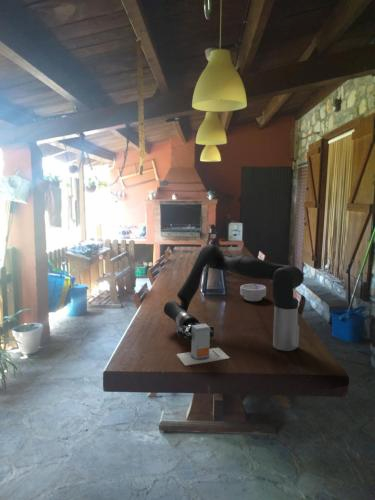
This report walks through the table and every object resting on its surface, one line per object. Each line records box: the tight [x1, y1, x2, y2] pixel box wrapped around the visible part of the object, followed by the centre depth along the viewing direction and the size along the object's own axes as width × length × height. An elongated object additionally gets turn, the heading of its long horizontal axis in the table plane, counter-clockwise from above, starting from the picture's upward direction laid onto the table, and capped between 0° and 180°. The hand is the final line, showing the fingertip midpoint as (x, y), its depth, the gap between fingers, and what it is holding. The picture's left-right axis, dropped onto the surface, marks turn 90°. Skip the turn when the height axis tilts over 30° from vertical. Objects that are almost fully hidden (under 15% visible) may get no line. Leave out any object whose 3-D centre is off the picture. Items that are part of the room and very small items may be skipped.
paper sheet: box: [175, 347, 230, 367], centre depth 141 cm, size 18×10×1 cm, turn 110°
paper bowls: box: [239, 283, 267, 302], centre depth 218 cm, size 15×15×8 cm
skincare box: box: [190, 323, 211, 359], centre depth 140 cm, size 6×4×12 cm
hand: (201, 336), depth 138 cm, fingers open, 8 cm apart
